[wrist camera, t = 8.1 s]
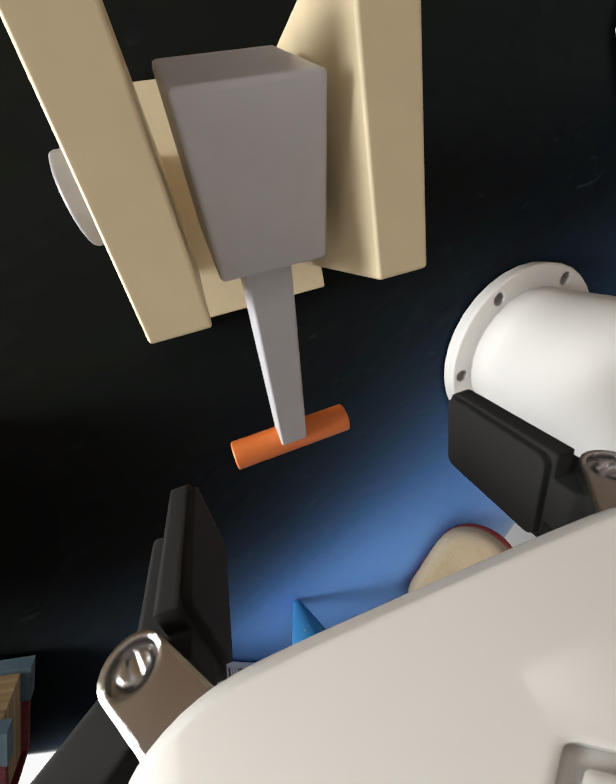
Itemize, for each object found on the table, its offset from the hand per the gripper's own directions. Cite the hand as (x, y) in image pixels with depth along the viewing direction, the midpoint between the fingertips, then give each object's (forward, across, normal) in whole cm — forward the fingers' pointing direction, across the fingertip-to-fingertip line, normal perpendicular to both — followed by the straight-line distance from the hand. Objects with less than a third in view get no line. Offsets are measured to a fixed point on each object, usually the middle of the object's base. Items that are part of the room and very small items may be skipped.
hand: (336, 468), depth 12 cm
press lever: (+2, +1, -5) cm, 6 cm away
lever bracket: (+10, +1, -9) cm, 13 cm away
